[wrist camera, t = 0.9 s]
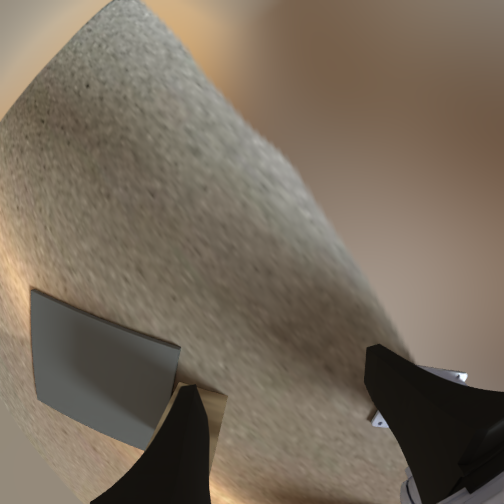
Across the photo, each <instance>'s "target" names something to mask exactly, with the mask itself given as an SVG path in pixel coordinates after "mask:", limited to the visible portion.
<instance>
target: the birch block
mask: <svg viewBox="0 0 504 504" xmlns="http://www.w3.org/2000/svg"><path fill="white" fill-rule="evenodd" d="M187 385H188V384H185V383H182V382H179V383H178V385H177V387H176V389H175V391H174V393H173V395H172V397H171V399H170V401H169V403H168V405H167V407H166V409H165V411H164V413H163V415H162V417H161V419H160V421H159V423H158V425H157V427H156V429H155V431H154V433H153V435H152V437H151V439H150V441H149V443H148V445H147V447H146V449H147V448H148V446H149V445H150V444H151V442H152V441H153V439H154V437H155V436H156V434H157V433H158V431H159V429H160V428H161V426H162V424H163V422H164V420H165V418H166V417H167V415H168V413H169V411H170V409H171V407H172V405H173V402H174V400H175V398H176V396H177V393H178V391H179V389H180V387H181V386H187ZM197 389H198V392H199V394H200V397H201V400H202V403H203V405H204V408H205V411H206V413H207V416H208V425H209V435H210V452H209V475H210V470H211V466H212V462H213V458H214V453H215V449H216V445H217V441H218V436H219V432H220V428H221V423H222V419H223V415H224V410H225V406H226V402H227V397H228V396H226V395H222V394H219V393H215V392H212V391H208V390H205V389H201V388H198V387H197ZM146 449H145V451H146ZM145 451H144V452H145Z"/></svg>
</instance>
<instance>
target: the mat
mask: <svg viewBox="0 0 504 504" xmlns="http://www.w3.org/2000/svg"><path fill="white" fill-rule="evenodd" d="M31 336H32V353H33V365H34V375H35V384H36V392H37V399H38V400H40V401H41V402H43V403H45V404H46V405H48V406H50V407H52V408H53V409H55V410H57V411H59V412H61V413H62V414H64V415H66V416H68V417H70V418H72V419H74V420H76V421H78V422H80V423H82V424H84V425H86V426H88V427H90V428H92V429H94V430H96V431H98V432H100V433H103V434H105V435H107V436H109V437H112V438H114V439H116V440H119V441H121V442H124V443H126V444H128V445H131V446H133V447H136V448H139V449H141V450H144V451H145V449H146V447H147V445H148V443H149V441H150V439H151V437H152V435H153V433H154V431H155V429H156V427H157V425H158V423H159V421H160V419H161V417H162V415H163V413H164V411H165V409H166V407H167V405H168V403H169V401H170V399H171V396H172V390H173V385H174V380H175V374H176V369H177V364H178V359H179V354H180V349H181V347H178V346H175V345H172V344H169V343H166V342H163V341H160V340H157V339H154V338H151V337H149V336H146V335H143V334H140V333H137V332H135V331H132V330H129V329H127V328H124V327H121V326H119V325H116V324H114V323H111V322H108V321H106V320H103V319H101V318H98V317H96V316H94V315H91V314H89V313H86V312H84V311H82V310H79V309H77V308H75V307H72V306H70V305H68V304H65V303H63V302H61V301H59V300H57V299H54V298H52V297H50V296H48V295H46V294H44V293H41V292H39V291H37V290H35V289H33V290H31Z"/></svg>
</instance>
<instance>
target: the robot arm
mask: <svg viewBox="0 0 504 504" xmlns="http://www.w3.org/2000/svg"><path fill="white" fill-rule="evenodd" d="M457 375H458V376H457ZM456 376H457V377H456ZM466 378H467V374H466V372H460V371H453V370H445V369H438V368H432V367H426V366H420V365H415V364H413V363H411V362H409V361H408V360H406V359H404V358H402V357H401V356H399V355H397V354H396V353H394V352H392V351H391V350H389V349H387V348H386V347H384V346H382V345H380V344H377V345H374V346H370V347H367V350H366V364H365V376H364V383H365V385H366V388H367V390H368V392H369V395H370V397H371V399H372V401H373V402H374V404H375V406H376V407H377V409H378V411H377V412H376V414H375V416H374V418H373V419H372V421H371V424H372V425H373V426H377V427H389V428H390V429H391V431H392V432H393V434H394V436H395V438H396V439H397V441H398V443H399V445H400V447H401V449H402V452H403V454H404V456H405V458H406V461H407V463H408V467H407V468H406V469H405V472H406V474H407V477H408V480H406V481H404V482H403V483H402V485H401V489H400V490H401V491H400V501H401V504H504V392H498V391H490V390H483V389H478V388H473V387H469V386H467V385H466V384H465V380H466ZM379 422H380V423H379ZM209 452H210V435H209V425H208V416H207V413H206V411H205V408H204V405H203V403H202V400H201V397H200V394H199V392H198V389H197V386H196V384H194V385H187V386H181V387H180V389H179V391H178V393H177V396H176V398H175V400H174V402H173V405H172V407H171V409H170V411H169V413H168V415H167V417H166V418H165V420H164V422H163V424H162V426H161V428H160V429H159V431H158V433H157V434H156V436H155V437H154V439H153V441H152V442H151V444H150V445H149V446H148V448H147V449H146V451H145V452H144V453H143V455H142V456H141V457H140V458H139V459H138V461H137V462H136V463H135V464H134V465H133V466H132V468H131V469H130V470H129V471H128V472H127V473H126V474H125V475H124V476H123V477H122V478H121V479H119V480H118V481H117V482H116V483H115V484H114V485H113V486H112V487H111V488H109V489H108V490H107V491H105V492H104V493H103V494H101V495H100V496H98V497H97V498H96V499H94V500H93V501H91V502H90V504H211V499H210V491H209Z"/></svg>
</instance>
